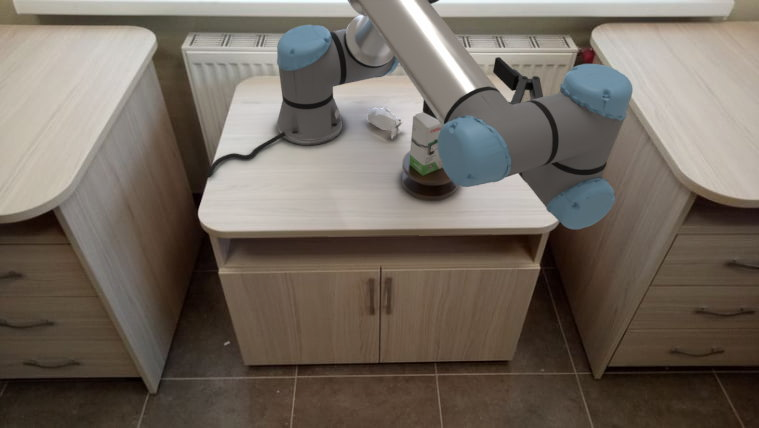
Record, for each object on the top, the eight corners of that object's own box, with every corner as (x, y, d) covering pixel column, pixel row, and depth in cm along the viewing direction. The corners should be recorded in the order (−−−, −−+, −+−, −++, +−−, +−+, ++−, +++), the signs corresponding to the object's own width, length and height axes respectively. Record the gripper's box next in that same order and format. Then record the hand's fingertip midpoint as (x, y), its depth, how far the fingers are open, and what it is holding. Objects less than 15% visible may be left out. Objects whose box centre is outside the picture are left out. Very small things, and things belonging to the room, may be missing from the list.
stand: (414, 206, 111) (416, 186, 107) (393, 171, 119) (394, 152, 115) (467, 193, 114) (470, 174, 110) (443, 160, 122) (445, 141, 118)
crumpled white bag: (405, 133, 131) (376, 109, 134) (408, 116, 125) (377, 91, 128) (391, 145, 129) (362, 120, 132) (393, 127, 123) (363, 102, 126)
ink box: (422, 176, 109) (426, 128, 101) (408, 163, 112) (411, 115, 104) (455, 162, 113) (462, 114, 105) (440, 150, 116) (446, 102, 108)
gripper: (443, 180, 76) (390, 102, 91) (592, 146, 83) (520, 79, 97) (449, 136, 71) (391, 61, 85) (607, 104, 77) (529, 39, 92)
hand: (460, 70), depth 91 cm, fingers open, 13 cm apart
